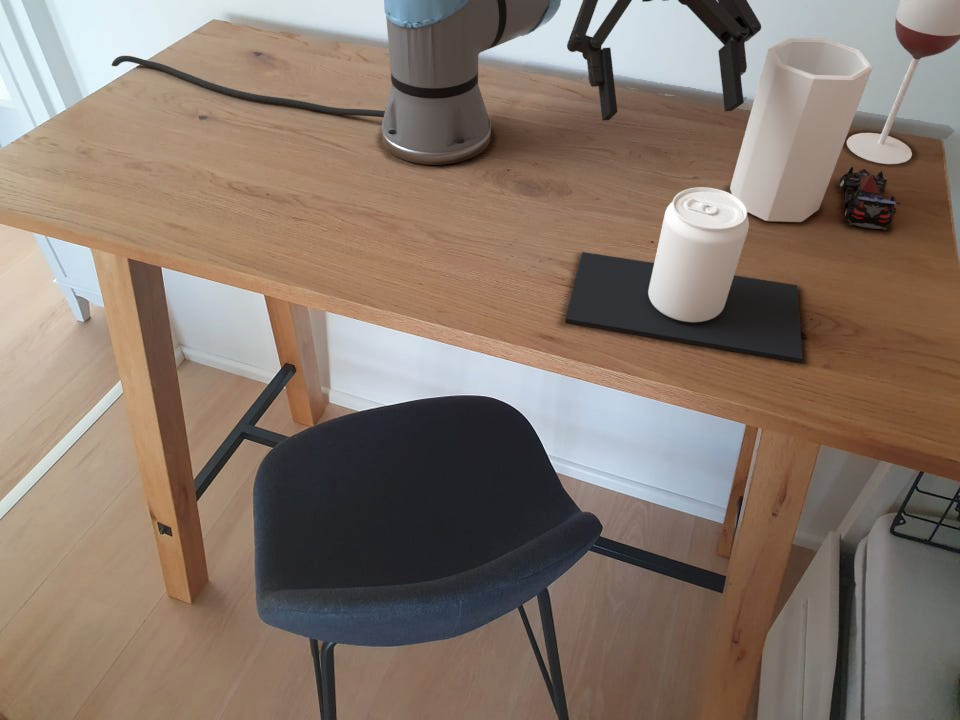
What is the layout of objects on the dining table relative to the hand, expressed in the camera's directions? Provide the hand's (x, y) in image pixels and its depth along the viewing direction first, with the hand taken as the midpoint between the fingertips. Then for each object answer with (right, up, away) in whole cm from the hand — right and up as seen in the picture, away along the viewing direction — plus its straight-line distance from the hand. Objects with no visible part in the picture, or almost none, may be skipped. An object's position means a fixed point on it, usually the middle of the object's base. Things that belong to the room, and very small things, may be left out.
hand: (672, 112), depth 79 cm
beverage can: (+2, -20, +3) cm, 20 cm away
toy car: (+29, -6, +18) cm, 35 cm away
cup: (+18, -5, +19) cm, 26 cm away
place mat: (+2, -20, +4) cm, 20 cm away
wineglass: (+36, +4, +28) cm, 46 cm away
